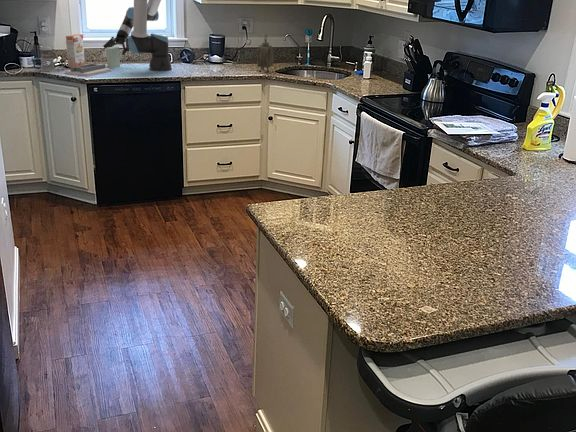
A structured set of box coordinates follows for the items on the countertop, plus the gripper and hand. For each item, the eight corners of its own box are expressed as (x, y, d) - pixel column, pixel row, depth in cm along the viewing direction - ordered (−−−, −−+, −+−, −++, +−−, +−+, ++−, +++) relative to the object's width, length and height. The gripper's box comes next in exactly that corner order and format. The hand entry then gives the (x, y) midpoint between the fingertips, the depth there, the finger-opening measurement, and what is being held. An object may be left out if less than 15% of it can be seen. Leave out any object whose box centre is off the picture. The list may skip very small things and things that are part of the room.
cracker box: (76, 68, 420) (73, 36, 412) (67, 67, 421) (64, 35, 413) (85, 65, 433) (83, 34, 425) (77, 64, 434) (74, 33, 426)
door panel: (120, 66, 436) (119, 47, 431) (112, 67, 428) (111, 48, 423) (115, 65, 437) (114, 46, 432) (107, 67, 429) (106, 48, 424)
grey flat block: (111, 71, 416) (110, 64, 415) (88, 76, 396) (87, 69, 394) (89, 68, 422) (88, 62, 421) (65, 73, 401) (64, 66, 400)
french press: (39, 69, 410) (35, 30, 401) (57, 68, 416) (54, 29, 406) (41, 71, 402) (37, 31, 393) (60, 71, 408) (56, 31, 398)
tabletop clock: (261, 69, 447) (262, 33, 438) (273, 70, 446) (274, 34, 437) (256, 72, 434) (257, 35, 425) (269, 73, 433) (270, 36, 423)
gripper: (141, 38, 436) (129, 62, 428) (111, 35, 444) (99, 59, 437) (136, 30, 429) (124, 55, 422) (106, 27, 437) (94, 52, 430)
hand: (111, 57), depth 429 cm, fingers open, 13 cm apart
